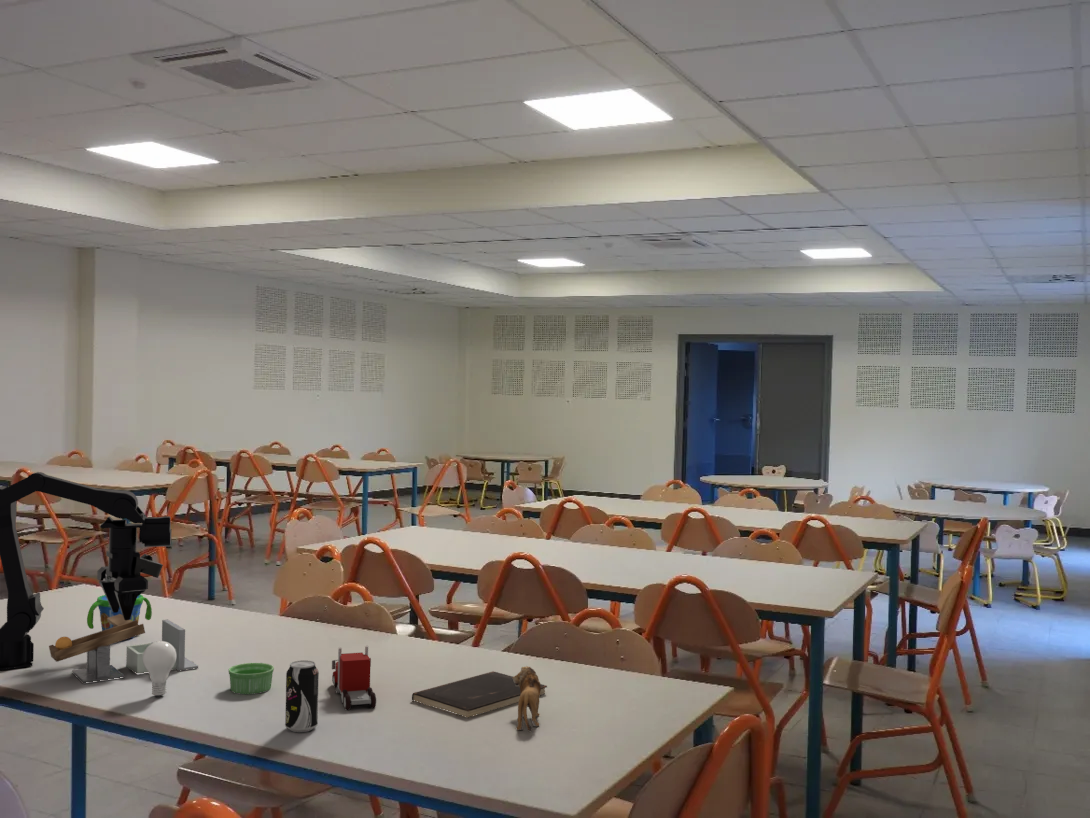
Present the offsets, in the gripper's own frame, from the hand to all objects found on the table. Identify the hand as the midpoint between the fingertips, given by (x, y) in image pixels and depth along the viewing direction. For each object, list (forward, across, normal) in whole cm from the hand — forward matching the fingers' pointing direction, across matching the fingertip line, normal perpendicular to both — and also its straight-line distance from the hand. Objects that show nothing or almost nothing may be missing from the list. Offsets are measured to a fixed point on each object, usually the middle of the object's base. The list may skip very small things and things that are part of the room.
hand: (121, 616), depth 228 cm
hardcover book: (+10, -69, -52) cm, 86 cm away
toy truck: (+10, -54, -31) cm, 63 cm away
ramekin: (+10, -38, -16) cm, 42 cm away
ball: (+2, -11, +14) cm, 18 cm away
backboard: (+10, -11, -10) cm, 17 cm away
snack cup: (+10, +21, -6) cm, 24 cm away
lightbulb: (+10, -33, +1) cm, 34 cm away
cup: (+10, -11, -4) cm, 15 cm away
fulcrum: (+10, -11, +7) cm, 16 cm away
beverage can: (+10, -67, -14) cm, 69 cm away
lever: (+4, -4, +7) cm, 9 cm away
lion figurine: (+10, -86, -50) cm, 100 cm away
